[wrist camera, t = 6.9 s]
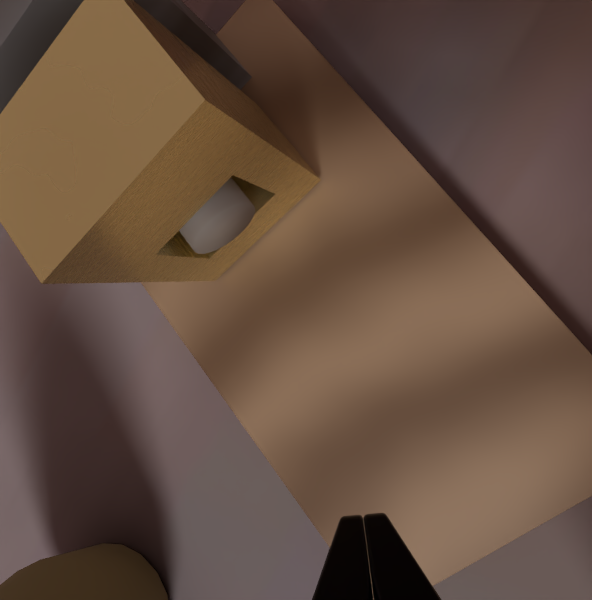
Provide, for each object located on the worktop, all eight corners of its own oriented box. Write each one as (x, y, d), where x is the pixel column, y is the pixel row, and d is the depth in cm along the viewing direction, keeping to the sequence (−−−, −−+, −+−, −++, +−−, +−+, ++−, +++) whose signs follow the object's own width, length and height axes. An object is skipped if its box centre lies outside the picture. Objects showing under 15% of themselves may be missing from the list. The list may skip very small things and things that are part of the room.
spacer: (321, 179, 18) (205, 100, 10) (215, 281, 20) (41, 283, 12) (259, 105, 19) (102, -26, 11) (161, 209, 20) (-37, 165, 12)
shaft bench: (660, 436, 16) (948, 666, 6) (383, 596, 19) (308, 900, 10) (270, 1, 20) (95, -250, 10) (97, 199, 23) (-153, 146, 14)
